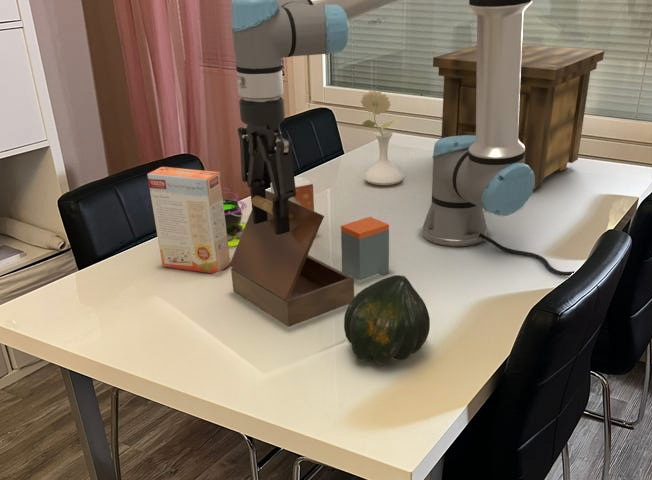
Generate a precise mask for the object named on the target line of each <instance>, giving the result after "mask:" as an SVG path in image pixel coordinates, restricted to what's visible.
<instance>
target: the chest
mask: <svg viewBox="0 0 652 480" xmlns="http://www.w3.org/2000/svg"><path fill="white" fill-rule="evenodd" d="M230 272H231V282H232V290H233V293H235V294H237V295H238V296H240V297H241V298H243V299H244V300H246V301H247V302H249V303H251V304H252V305H254V306H255V307H257V308H259V309H260V310H262V311H263V312H265V313H267V314H268V315H270V316H271V317H273V318H274V319H275V320H277V321H279V322H280V323H282V324H283V325H285V326H286V327H292V326H294V325H297V324H300V323H303V322H306V321H308V320H310V319H313V318H316V317H318V316H321V315H323V314H326V313H329V312H332V311H334V310H336V309H339V308H341V307H345V306H347V305H349V304H350V303H351V302H352V300H353V299H354V297H355V278H354V277H352V276H350V275H348V274H346V273H344V272H342V270H341V271H340V270H339V269H337V268H335V267H333V266H331V265H329V264H328V263H325V262H323V261H321V260H319V259H317V258H315V257H313V256H311V255H309V254H308V255H307V258H306V260H305V262H304V265H303V267H302V270H301V272H300V274H299V277H298V279H297V281H296V284H295V286H294V288H293V291H292V293H291V295H290V298H289V300H285V299H284V298H282V297H280V296H279V295H277V294H275V293H274V292H272V291H270V290H269V289H267V288H265V287H264V286H262V285H260V284H259V283H257V282H255V281H254V280H252V279H250V278H249V277H247V276H245V275H244V274H242V273H240V272H239V271H237V270H235V269H234V268H232V267H230Z"/></svg>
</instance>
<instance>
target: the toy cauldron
mask: <svg viewBox="0 0 652 480" xmlns="http://www.w3.org/2000/svg"><path fill="white" fill-rule="evenodd" d="M225 190H227V191H224V194H225V193H229V194H230V193H231V194H233V195H235V196H236V198H233V199H232V198H231V199H230V198H223V206H224V214H225V223H226V231H227V240H228V248H229V247H230V248H231V247H237V245H238V243H239V240H240V238H241V235H242V233H243V231H244V228H245V226H246V223H241V222H242V218H243V214H244V213H243V211H244V210H245V208H247V203H246V202H244V201H242V200H239V199H238V198H239V195H238V194H235V193H234V192H230V189H228V188H226V187H225ZM239 204H240V205H241V207H240V205H239Z"/></svg>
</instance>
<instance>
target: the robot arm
mask: <svg viewBox="0 0 652 480" xmlns="http://www.w3.org/2000/svg"><path fill="white" fill-rule="evenodd" d="M400 1H401V0H231V3H230V20H231V23H230V25H231V26H230V30H231V33H232V42H233V51H234V60H235V71H236V82H235V83H236V85H237V91H238V96H239V97H241V98H240V99H239V100H238V105H239V116H240V117H239V118H240V121H241V122H242V123H243V124H245V125H246V126H241V127H238V128H237V134H238V138H239V147H240V148H239V150H240V170H241V171H240V173H241V181H242V182H243V183H246V185H247V187H248V188H249V193H250V203H251V211H252V213H253V223H254V224H258V223H262V222H265V221H268V218H267V212H266V211H264V210H262V209H260V208H258V207H256V206H254V205H253V204H252V199H253V197H254V196H256V195H258V196H260V197H263V198H265V199H266V193H265V190H266V186H264V185H266V182H265V181H264V179H263V178H264V170H265V163H266V165H267V170H268V174H269V178H270V183H272V186H273V190H274V194H275V198H272V200H273V213H274V226H275V234H276V235H279V234H283V233H286V232H290V228H289V202H288V200H289V198H291V197H295V196H296V188H295V180H294V178H295V171H294V163H293V153H292V152H293V140H292V139H291V138H288V139H285V138H284V137H283V135H282V132H281V127H280V125H281V124H282V122H284V120H285V119H286V114H285V100H284V99H283V97H282V96H283V95H284V93H285V92H284V79H283V78H284V77H283V66H282V58H290V57H291V58H292V57H304V56H316V55H325V56H328V55H330V54H336V53H340V52H343V51H344V50H345V49H346V47H347V45H348V42H349V39H350V38H349V37H350V25H349V24H350V23H349V21H353V20H354V19H357V18H359V17H362V16H364V15H368V14H369V13H372V12H375V11H377V10H380V9H383V8H385V7H387V6H390V5H392V4H395V3H398V2H400ZM532 3H533V0H468V6H469V8H470V9H471V10H472V11H473V12H474V13H475V15H476V46H477V82H476V136H474V135H463V136H451V137H445V138H442V139H441V138H440V139H438V140H436V141H435V143H434V146H433V153H432V182H431V203H430V206H429V208H428V210H427V211H428V212H427V214H426V217H425V219H424V222H423V225H422V237H423V238H424V239H425V240H426V241H428V242H430V243H433V244H435V245H439V246H444V247H452V248H453V247H454V248H455V247H457V248H460V247H461V248H462V247H470V246H475V245H478V244H481V243H483V242H484V241H486V242H487V243H489V244H492V245H493V246H494V247H496V248H498V249H499V250H501V251H503V252H505V253H510V254H513V255H519V256H524V257H525V256H526V257H531V258H535V259H537V260H539V261H541V262H542V264H543V265H544V266H545V267H546V269H547V270H548V271H550V273H552V274H555V275H558V276H563V277H571V276H570V275H571V274H572V273H574V272H575V271H576V270H572V271H563V270H562V271H561V270H558V269H556V268H555V267H553V266H552V265H551V263H549V261H548V260H547V259H546V258H545V257H543V256H542V255H540V254H537V253H534V252H530V251H525V250H519V249H512V248H509V247H507V246H504V245H502V244H500V243H499V242H498V241H495V240H494V239H492V238H491V237H489V236H488V225H487V222H486V217H485V213H484V211H485V212H486V213H489V214H493V215H496V216H499V217H506V216H510V215H513V214H515V213H516V212H518V211H519V210H521V209H522V208H523V207H524V206H525V204H526V203H527V202H528V201H529V199H530V198H531V197H532V194H533V192H534V185H535V176H534V172H533V171H532V170H531V168H530V167H529V166H528V165H526V164H525V163H524V161H525V146H524V145H523V144H522V143H521V142H520V141H519V140H518V126H519V102H520V78H521V55H522V44H523V30H524V29H523V27H524V12H525V11H526V9H527V8H528V7H530V6H531V4H532Z"/></svg>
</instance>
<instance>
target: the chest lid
mask: <svg viewBox="0 0 652 480" xmlns="http://www.w3.org/2000/svg"><path fill="white" fill-rule="evenodd" d="M265 193H266V199H265V198H263V197H260V196H258V195H256V196H254V197H253V199H252V202H251V205H252V204H253V205H254V206H256V207H258V208H260V209H262V210H264V211H266V212H267V218H268V221H265V222H262V223H258V224H254V223H253V213H252V210H251V211H250V213H249V216H248V218H247V220H246V223H245V224H246V226H245V228H244V231H243V233H242V235H241V238H240V240H239V243H238V245H237V246H236V248H235V251H234V252H233V255H232V258H231V259H230V265H229V266H228V267H230V268H234V269H235V270H237V271H239V272H240V273H242V274H244V275H245V276H247V277H249V278H250V279H252V280H254V281H255V282H257V283H259V284H260V285H262V286H264V287H265V288H267V289H269V290H270V291H272V292H274V293H275V294H277V295H279V296H280V297H282V298H284V299H285V300H289V298H290V295H291V293H292V291H293V288H294V286H295V284H296V281H297V279H298V277H299V274H300V272H301V270H302V267H303V265H304V262H305V260H306V258H307V255H309V253H310V251H311V248H312V246H313V244H314V241H315V240H316V239H315V238H316V236H317V234H318V232H319V229H320V227H321V225H322V222H323V220H324V218H325V215H324V214H321V213H319V212H317V211H315V210H314V211H312V210H310V209H307V208H305V207H303V206H301V205H298V204H296V203H294V202H291V201H289V200H288V202H289V228H290V232H286V233H283V234H279V235H276V234H275V226H274V213H273V200H272V198H275V194H273V193H271V191H268V190H266V189H265Z"/></svg>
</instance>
